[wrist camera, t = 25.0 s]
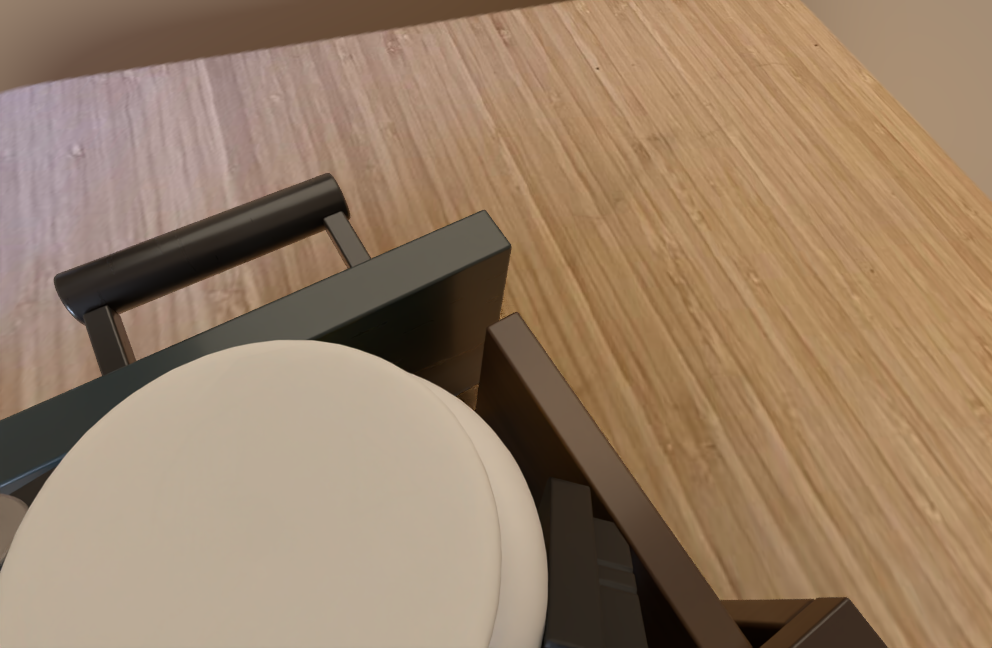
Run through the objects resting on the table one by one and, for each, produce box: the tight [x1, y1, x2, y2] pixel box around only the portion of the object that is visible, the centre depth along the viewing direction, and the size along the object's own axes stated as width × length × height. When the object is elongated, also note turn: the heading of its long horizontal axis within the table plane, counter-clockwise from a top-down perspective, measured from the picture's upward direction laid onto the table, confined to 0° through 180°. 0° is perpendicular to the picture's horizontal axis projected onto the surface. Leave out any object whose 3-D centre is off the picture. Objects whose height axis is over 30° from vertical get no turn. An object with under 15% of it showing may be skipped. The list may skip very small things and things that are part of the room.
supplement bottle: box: [0, 340, 548, 648], centre depth 9 cm, size 6×6×10 cm
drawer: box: [0, 173, 753, 648], centre depth 12 cm, size 18×11×8 cm, turn 32°
